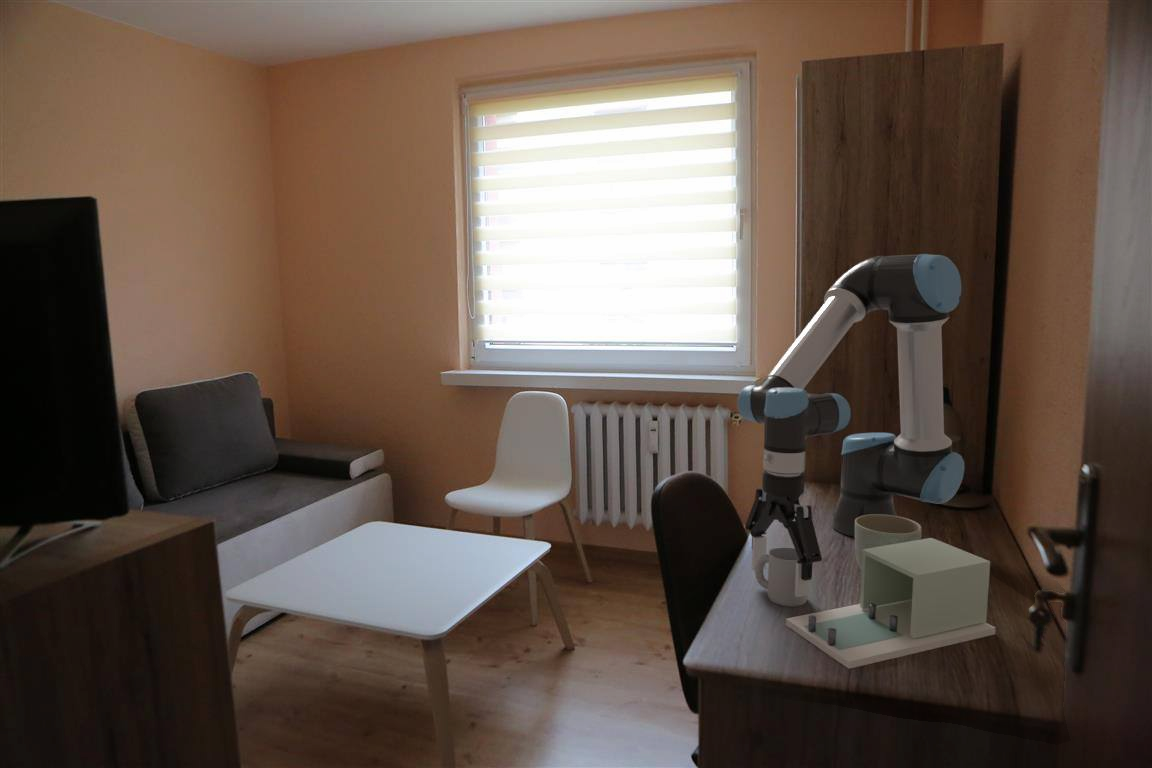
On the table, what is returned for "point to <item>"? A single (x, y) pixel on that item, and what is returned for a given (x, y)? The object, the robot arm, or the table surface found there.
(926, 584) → the hood
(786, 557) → the cup
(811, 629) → the pins
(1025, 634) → the table surface
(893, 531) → the planter
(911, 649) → the board
